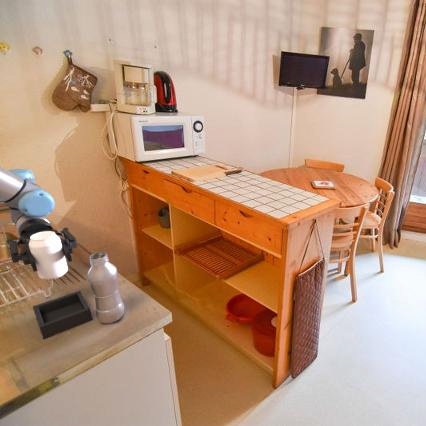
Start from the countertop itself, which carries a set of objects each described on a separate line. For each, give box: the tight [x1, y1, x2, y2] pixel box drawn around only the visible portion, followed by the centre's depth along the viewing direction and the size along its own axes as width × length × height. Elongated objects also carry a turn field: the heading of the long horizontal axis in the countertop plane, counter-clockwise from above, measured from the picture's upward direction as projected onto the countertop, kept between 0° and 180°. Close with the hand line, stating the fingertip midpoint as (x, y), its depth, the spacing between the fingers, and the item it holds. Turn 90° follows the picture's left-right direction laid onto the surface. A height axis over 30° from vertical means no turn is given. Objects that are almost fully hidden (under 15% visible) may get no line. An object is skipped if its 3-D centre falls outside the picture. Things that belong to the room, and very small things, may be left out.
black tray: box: [32, 290, 94, 340], centre depth 85 cm, size 10×10×4 cm
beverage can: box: [29, 231, 69, 281], centre depth 83 cm, size 6×6×12 cm
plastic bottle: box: [86, 251, 126, 324], centre depth 84 cm, size 6×7×20 cm
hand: (52, 261), depth 80 cm, fingers closed on beverage can, 6 cm apart
